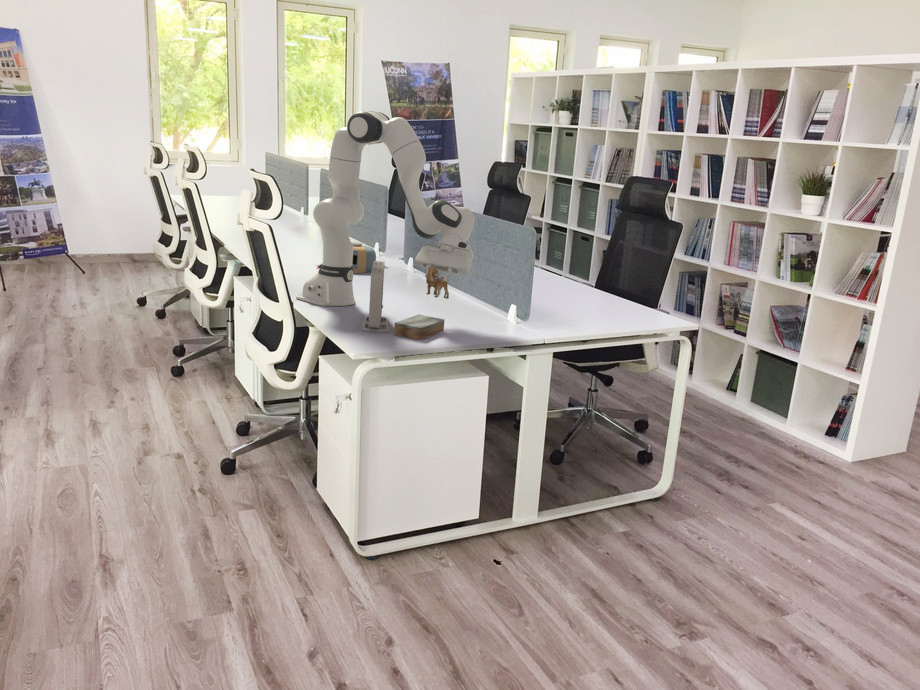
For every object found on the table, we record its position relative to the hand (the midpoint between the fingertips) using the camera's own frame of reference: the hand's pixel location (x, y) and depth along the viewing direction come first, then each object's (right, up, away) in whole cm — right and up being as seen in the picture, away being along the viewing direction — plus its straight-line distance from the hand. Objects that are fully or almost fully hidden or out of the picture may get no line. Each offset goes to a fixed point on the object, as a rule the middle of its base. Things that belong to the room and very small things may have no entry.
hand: (435, 278), depth 274 cm
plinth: (-5, -19, -8) cm, 21 cm away
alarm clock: (-41, +12, +97) cm, 106 cm away
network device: (-20, -16, -2) cm, 26 cm away
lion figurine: (0, -6, +1) cm, 6 cm away
